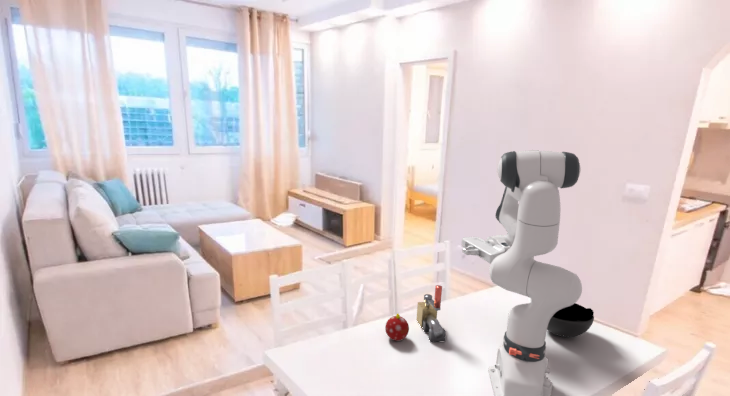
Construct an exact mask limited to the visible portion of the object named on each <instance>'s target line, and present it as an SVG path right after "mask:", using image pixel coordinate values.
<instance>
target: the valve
mask: <svg viewBox="0 0 730 396" xmlns="http://www.w3.org/2000/svg"><path fill="white" fill-rule="evenodd" d="M416 309H417V310H416V320H417V321H418V322H417V321H416V322H417V324H418V323H419V324H420V326H421V327H420V326H419V327H420V329H421V328H422V327H423V328H422V329H423V330H424V331H423V330H422V331H423V333H424V332H429V333H428V337H427V338H429V339H428V341H429V340H430V341H429V343H431V342H432V343H437V342H436V341H445V342H446V338H447V337H446V336H447V331H446V330H445V328H444V327H443V326H442V325H441V324H440V322H439V320H438V319H437V317H438V311H436V310H435V309H434V308H433V307H432V306H431V305H430V304H429V303H427V302H425V301H419V302H417V308H416ZM419 324H418V325H419Z"/></svg>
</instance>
